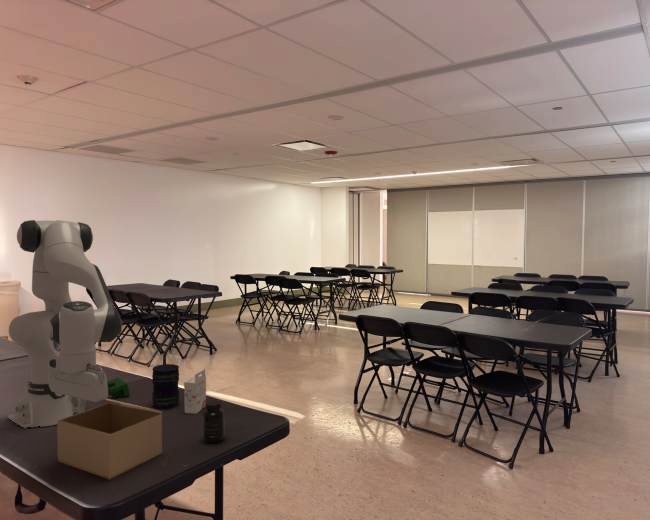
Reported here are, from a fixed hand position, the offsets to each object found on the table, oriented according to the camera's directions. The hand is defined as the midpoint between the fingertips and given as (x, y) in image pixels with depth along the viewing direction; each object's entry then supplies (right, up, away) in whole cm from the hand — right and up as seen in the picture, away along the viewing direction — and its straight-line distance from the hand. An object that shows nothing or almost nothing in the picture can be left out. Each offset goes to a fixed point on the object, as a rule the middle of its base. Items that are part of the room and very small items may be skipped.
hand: (78, 412), depth 128 cm
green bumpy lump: (-18, -15, +65) cm, 70 cm away
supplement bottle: (+31, -16, +23) cm, 42 cm away
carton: (+5, -16, +10) cm, 20 cm away
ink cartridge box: (+18, -15, +50) cm, 55 cm away
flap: (+5, -1, +10) cm, 11 cm away
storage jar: (+6, -15, +54) cm, 56 cm away
